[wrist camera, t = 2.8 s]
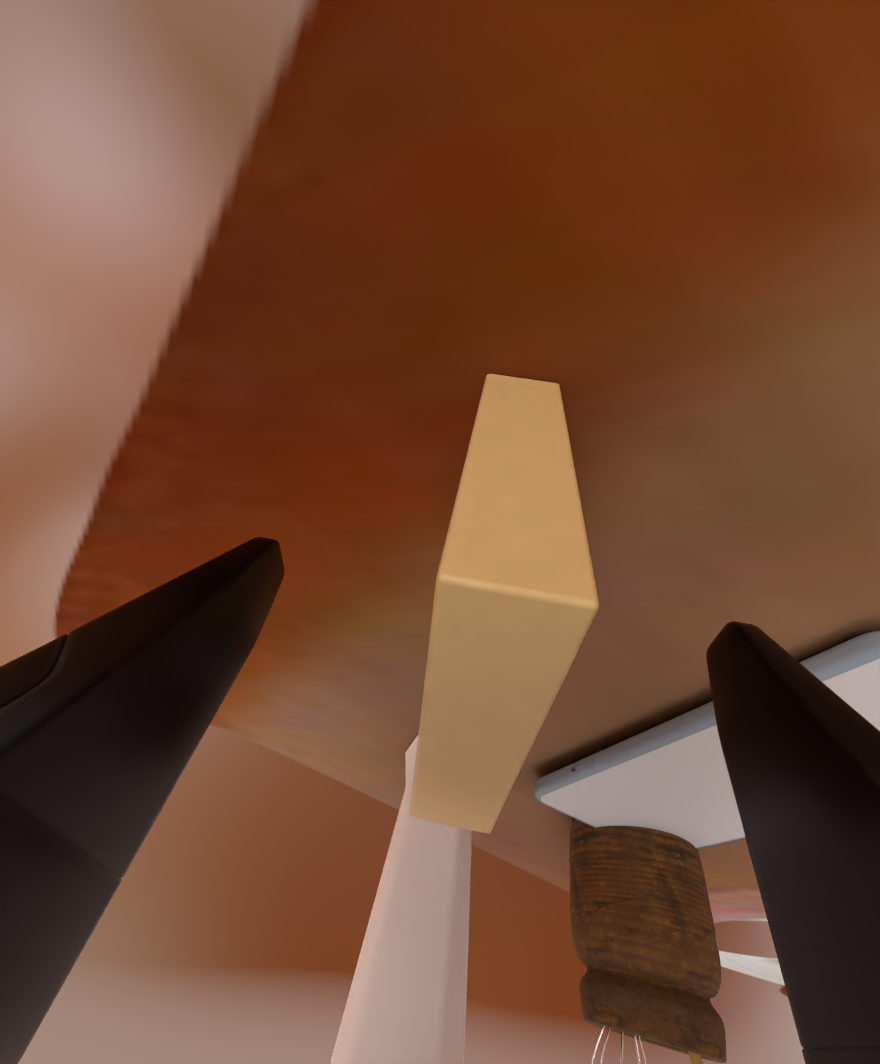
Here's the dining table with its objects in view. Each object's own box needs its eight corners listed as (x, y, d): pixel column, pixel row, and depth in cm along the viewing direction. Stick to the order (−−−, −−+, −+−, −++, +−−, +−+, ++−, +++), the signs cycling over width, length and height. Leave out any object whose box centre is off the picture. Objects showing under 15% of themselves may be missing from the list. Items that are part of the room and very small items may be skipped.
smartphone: (1082, 766, 12) (658, 859, 21) (1048, 733, 13) (654, 837, 22) (910, 638, 10) (525, 798, 19) (883, 608, 11) (525, 775, 20)
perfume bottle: (399, 767, 22) (253, 1406, 10) (396, 725, 19) (193, 1525, 8) (487, 784, 21) (438, 1476, 10) (496, 743, 19) (444, 1632, 7)
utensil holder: (545, 817, 23) (535, 1227, 14) (633, 798, 19) (697, 1365, 10) (630, 853, 24) (670, 1256, 15) (732, 843, 20) (868, 1391, 11)
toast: (486, 371, 9) (435, 576, 4) (560, 382, 9) (603, 606, 4) (454, 582, 13) (408, 817, 8) (505, 591, 13) (491, 836, 8)
